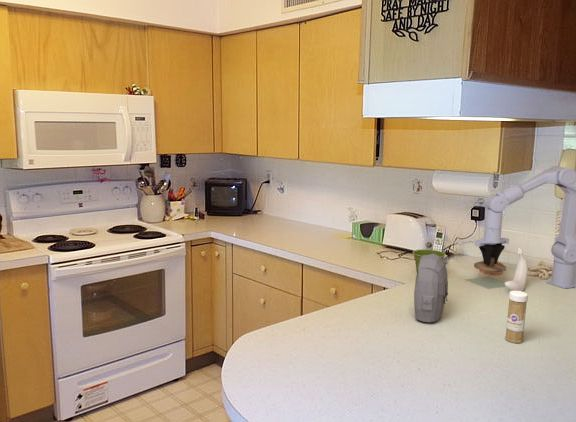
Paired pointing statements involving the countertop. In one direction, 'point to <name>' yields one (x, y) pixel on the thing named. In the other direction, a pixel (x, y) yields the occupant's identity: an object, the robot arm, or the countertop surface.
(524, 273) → the white curved piece
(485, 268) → the lid
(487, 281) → the mat
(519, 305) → the sprinkles bottle
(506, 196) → the robot arm
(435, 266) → the soft grey pack
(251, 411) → the countertop surface
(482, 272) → the bowl
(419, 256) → the plant pot
